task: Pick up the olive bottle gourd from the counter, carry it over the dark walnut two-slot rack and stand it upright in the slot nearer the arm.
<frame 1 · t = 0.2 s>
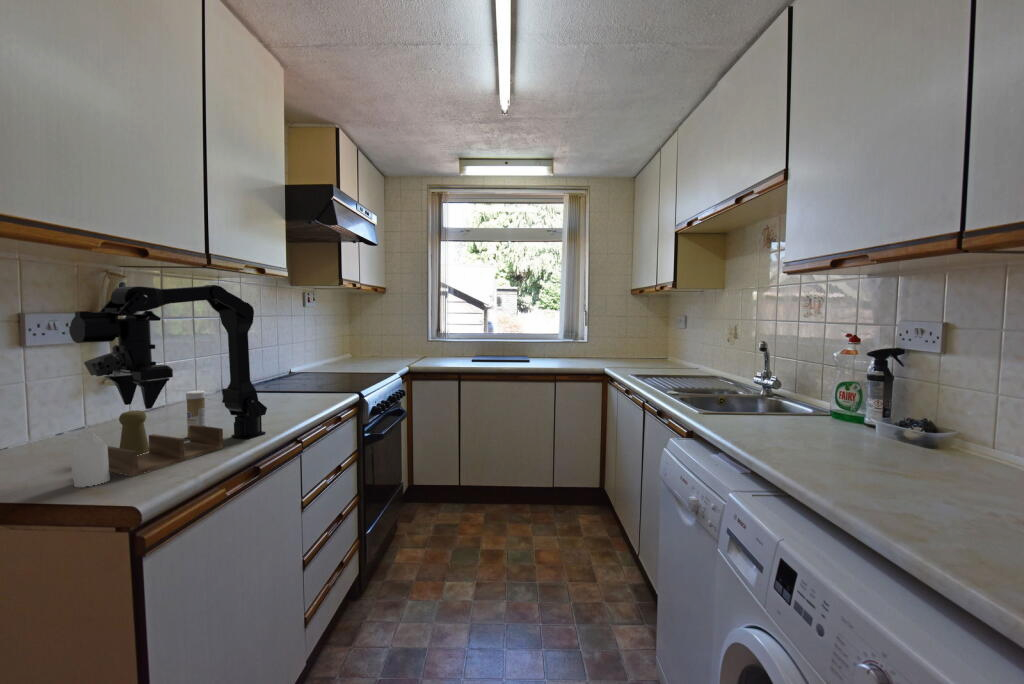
hand: (138, 406, 100), 14 cm above the countertop, tool pointing down, fingers open, 9 cm apart
grey pointed block: (91, 483, 91), on the countertop
sprinkles bottle: (197, 437, 125), on the countertop
olive bottle gourd: (134, 453, 110), on the countertop
rack: (166, 458, 106), on the countertop
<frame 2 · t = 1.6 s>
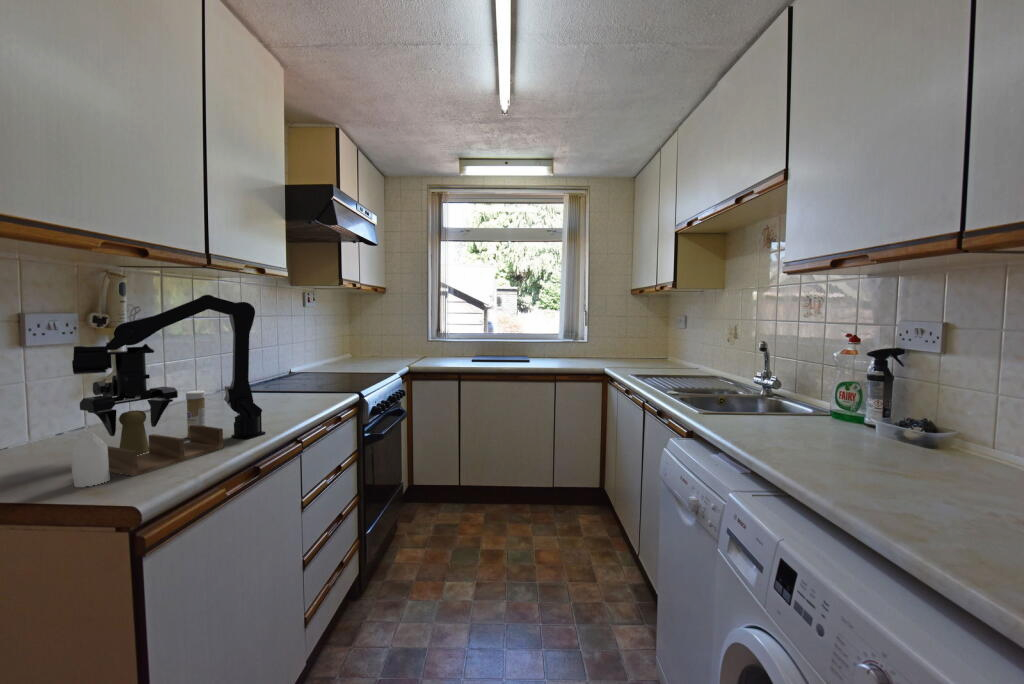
hand: (133, 431, 109), 6 cm above the countertop, tool pointing down, fingers open, 9 cm apart
nothing on the countertop moved.
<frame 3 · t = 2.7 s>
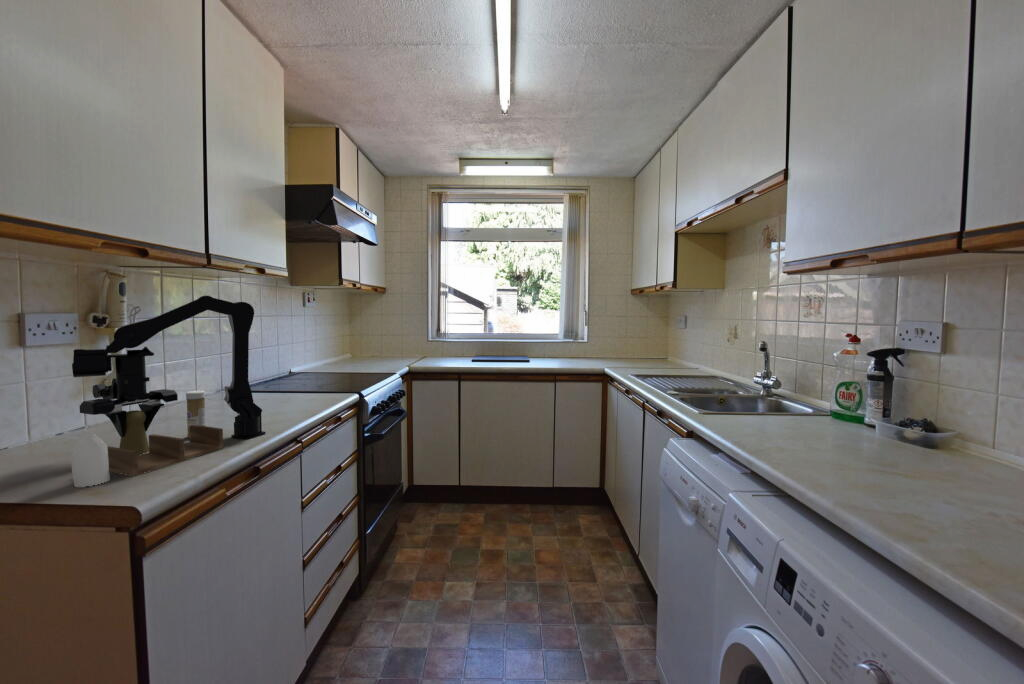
hand: (133, 434, 109), 5 cm above the countertop, tool pointing down, fingers closed on olive bottle gourd, 5 cm apart
olive bottle gourd: (134, 453, 110), on the countertop, touching gripper
everything else where it was.
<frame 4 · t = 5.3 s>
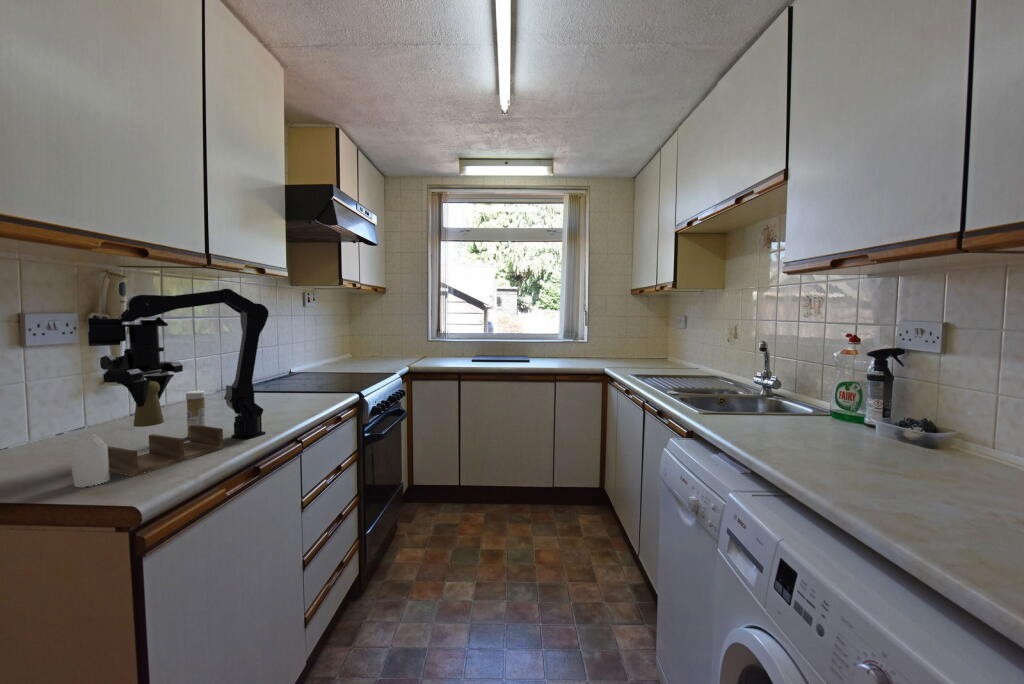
hand: (148, 404, 109), 13 cm above the countertop, tool pointing down, fingers closed on olive bottle gourd, 5 cm apart
olive bottle gourd: (149, 424, 110), point 7 cm above the countertop, touching gripper
everything else where it was.
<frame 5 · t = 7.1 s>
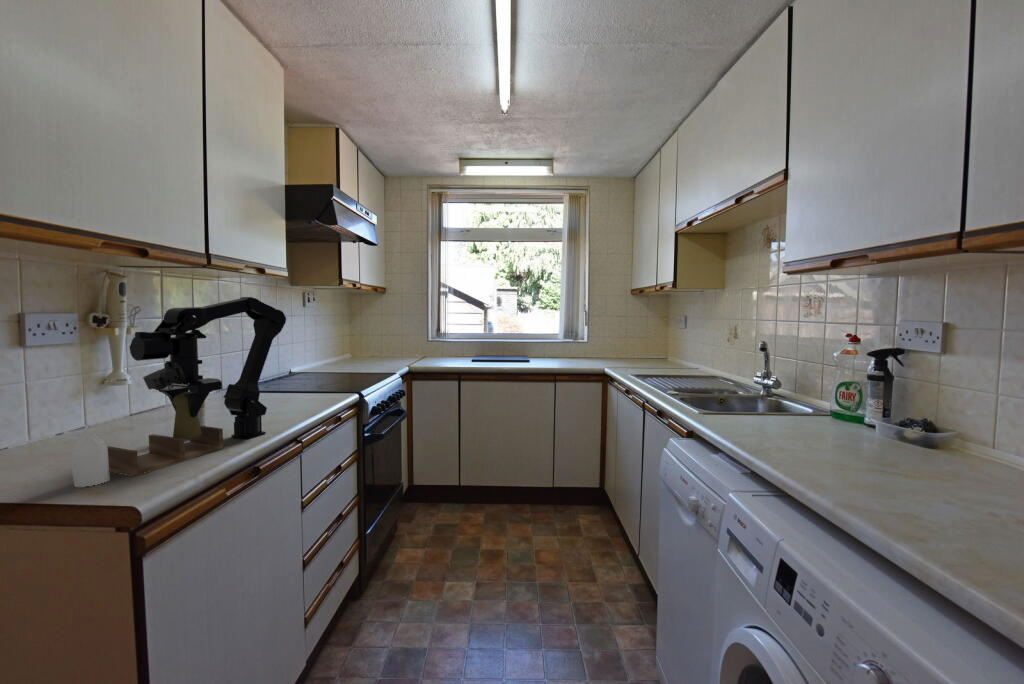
hand: (186, 416, 110), 10 cm above the countertop, tool pointing down, fingers closed on olive bottle gourd, 5 cm apart
olive bottle gourd: (187, 435, 111), point 4 cm above the countertop, touching gripper
everything else where it was.
when the fingers open (8 cm above the countertop, at t = 8.2 s): olive bottle gourd drops 2 cm, resting on rack.
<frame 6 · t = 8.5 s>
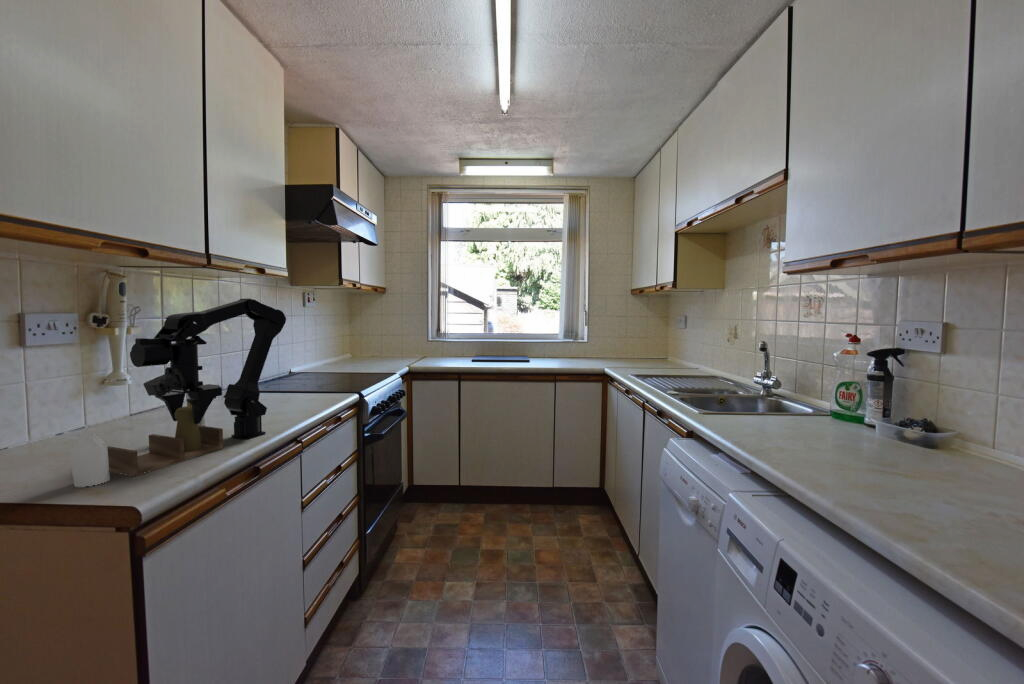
hand: (186, 422, 110), 8 cm above the countertop, tool pointing down, fingers open, 7 cm apart
olive bottle gourd: (187, 449, 111), point 1 cm above the countertop, touching rack
everything else where it was.
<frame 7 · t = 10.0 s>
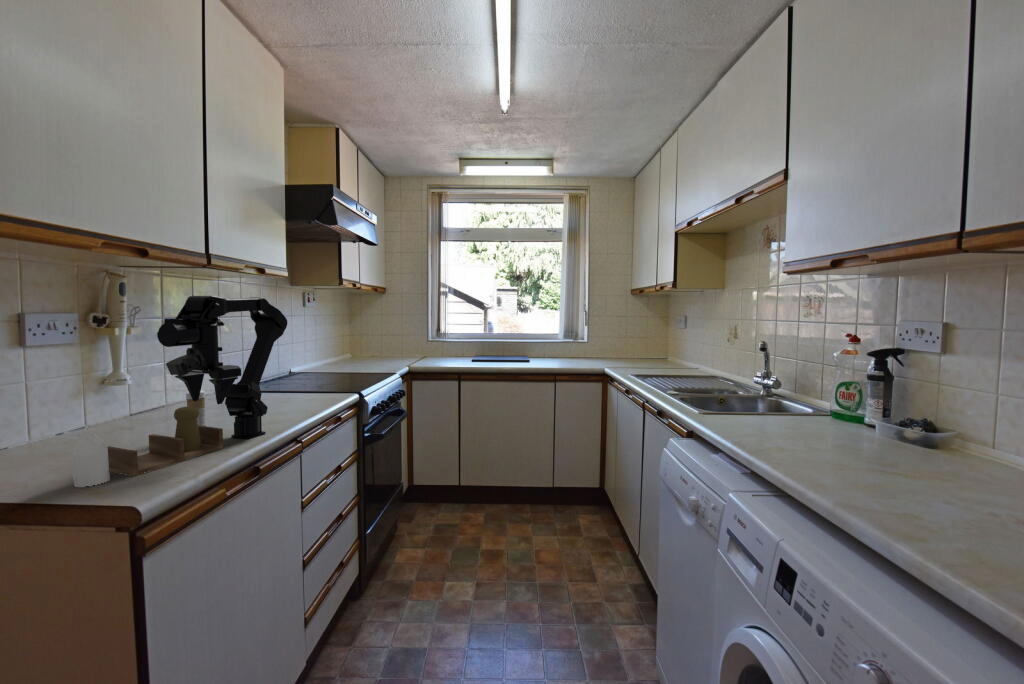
hand: (207, 402, 112), 13 cm above the countertop, tool pointing down, fingers open, 9 cm apart
nothing on the countertop moved.
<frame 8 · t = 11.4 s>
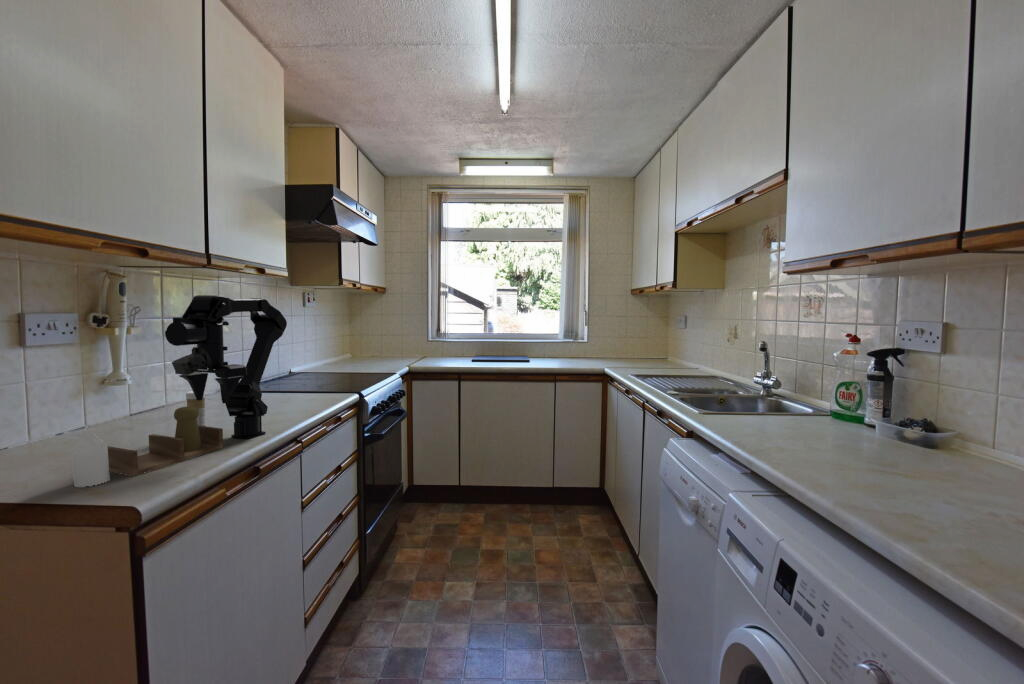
hand: (212, 401, 113), 13 cm above the countertop, tool pointing down, fingers open, 9 cm apart
nothing on the countertop moved.
at the end: olive bottle gourd 0.1 cm from the target spot on the rack, point 0.8 cm above the rack's base; olive bottle gourd tilted 0°; the gripper is holding nothing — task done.
